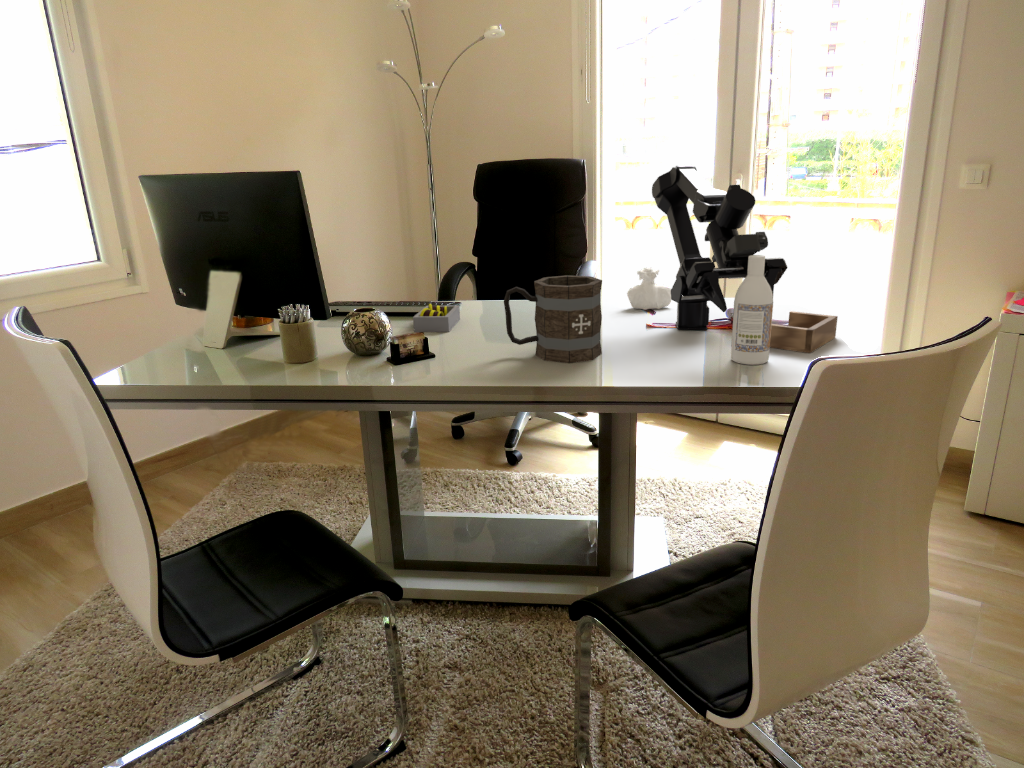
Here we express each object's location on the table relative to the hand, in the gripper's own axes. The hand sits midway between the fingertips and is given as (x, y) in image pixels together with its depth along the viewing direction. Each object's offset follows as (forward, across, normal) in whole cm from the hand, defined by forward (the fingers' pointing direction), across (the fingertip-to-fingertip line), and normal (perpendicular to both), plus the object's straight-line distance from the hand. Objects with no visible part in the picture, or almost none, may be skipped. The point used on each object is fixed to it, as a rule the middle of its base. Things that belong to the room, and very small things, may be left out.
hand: (748, 309), depth 139 cm
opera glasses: (-26, -58, +39) cm, 74 cm away
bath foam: (+8, 0, +6) cm, 10 cm away
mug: (-2, -35, +16) cm, 39 cm away
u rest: (0, +16, +13) cm, 21 cm away
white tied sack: (-30, -2, +43) cm, 52 cm away
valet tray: (-26, -57, +39) cm, 74 cm away
